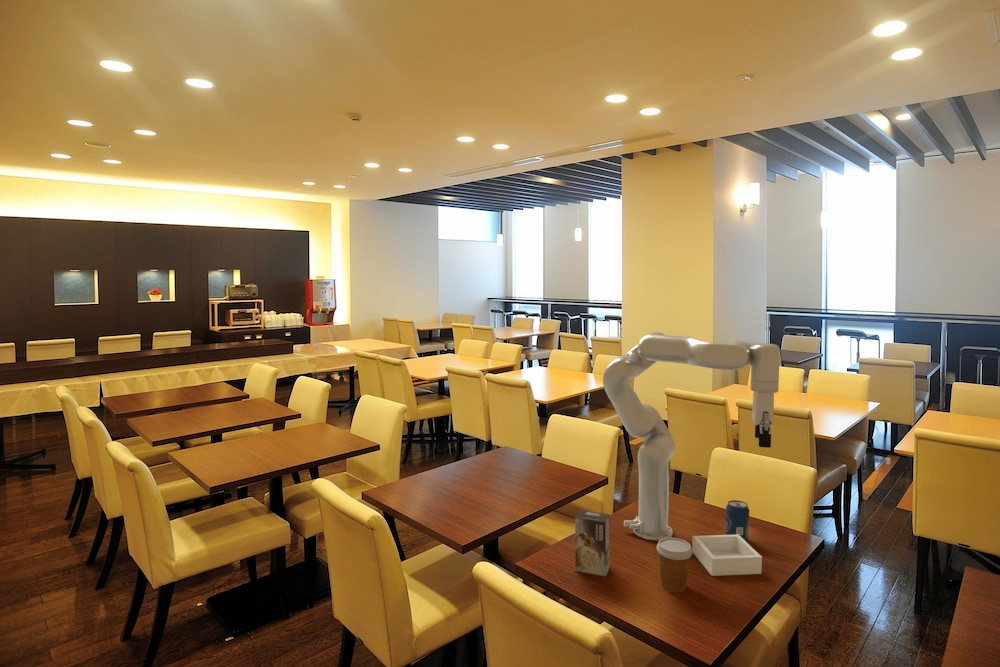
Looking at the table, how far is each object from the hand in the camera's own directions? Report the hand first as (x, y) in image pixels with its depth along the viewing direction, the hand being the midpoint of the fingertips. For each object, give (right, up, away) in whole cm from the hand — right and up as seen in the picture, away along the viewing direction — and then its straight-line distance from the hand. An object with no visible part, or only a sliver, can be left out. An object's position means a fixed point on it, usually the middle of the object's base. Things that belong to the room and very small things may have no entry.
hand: (762, 442), depth 174 cm
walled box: (-12, -35, -1) cm, 37 cm away
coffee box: (-51, -36, -4) cm, 63 cm away
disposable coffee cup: (-31, -37, -14) cm, 50 cm away
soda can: (-2, -34, +13) cm, 36 cm away
